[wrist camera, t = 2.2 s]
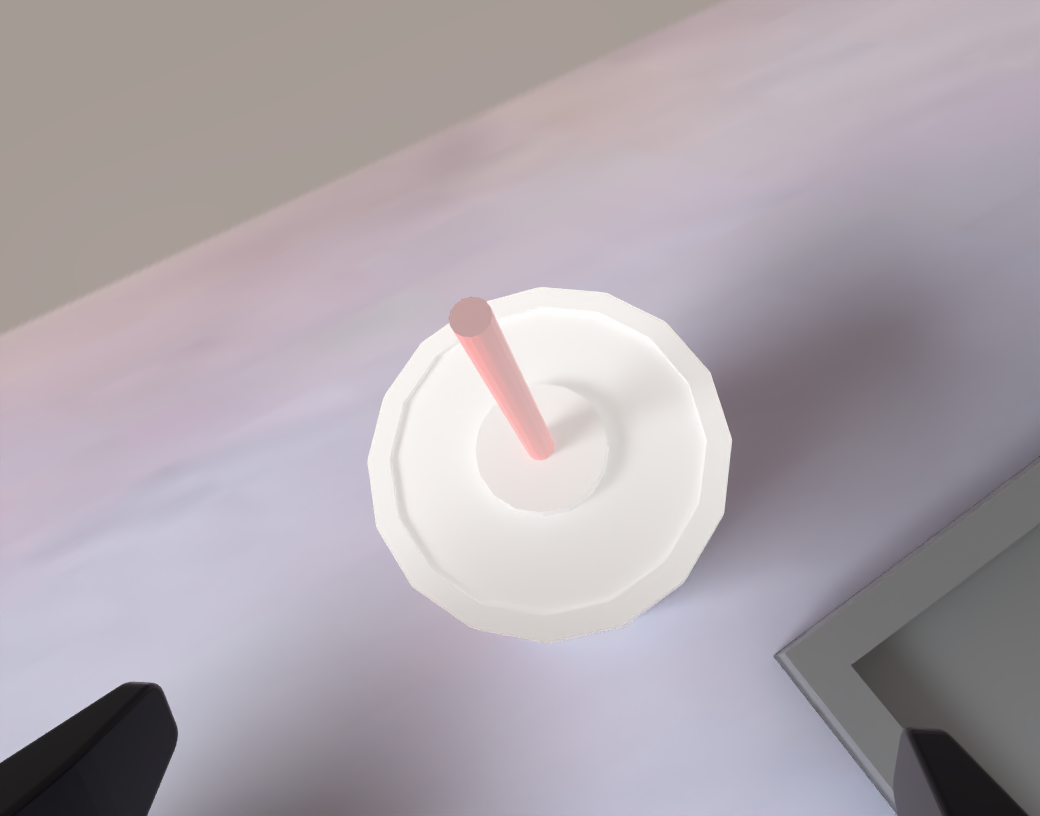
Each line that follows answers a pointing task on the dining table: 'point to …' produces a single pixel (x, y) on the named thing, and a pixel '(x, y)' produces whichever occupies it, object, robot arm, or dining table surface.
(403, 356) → the dining table surface
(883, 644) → the tray
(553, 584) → the beverage cup
